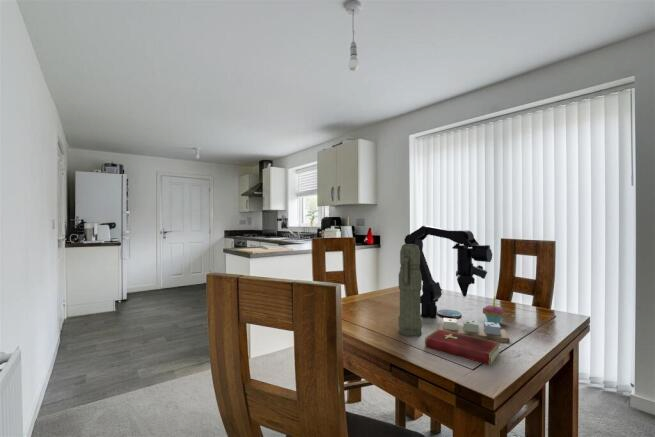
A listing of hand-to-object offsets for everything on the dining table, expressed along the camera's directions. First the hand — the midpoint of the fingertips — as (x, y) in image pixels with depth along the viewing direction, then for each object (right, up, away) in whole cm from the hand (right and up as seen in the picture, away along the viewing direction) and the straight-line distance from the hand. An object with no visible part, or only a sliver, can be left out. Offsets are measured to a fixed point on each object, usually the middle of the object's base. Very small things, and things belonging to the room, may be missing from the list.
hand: (464, 296), depth 135 cm
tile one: (-9, -10, -8) cm, 16 cm away
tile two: (-2, -10, -11) cm, 15 cm away
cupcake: (+14, -12, +3) cm, 19 cm away
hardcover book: (-13, -13, -27) cm, 32 cm away
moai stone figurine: (-26, -12, -10) cm, 30 cm away
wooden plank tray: (-2, -12, -11) cm, 16 cm away
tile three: (+5, -10, -13) cm, 18 cm away
